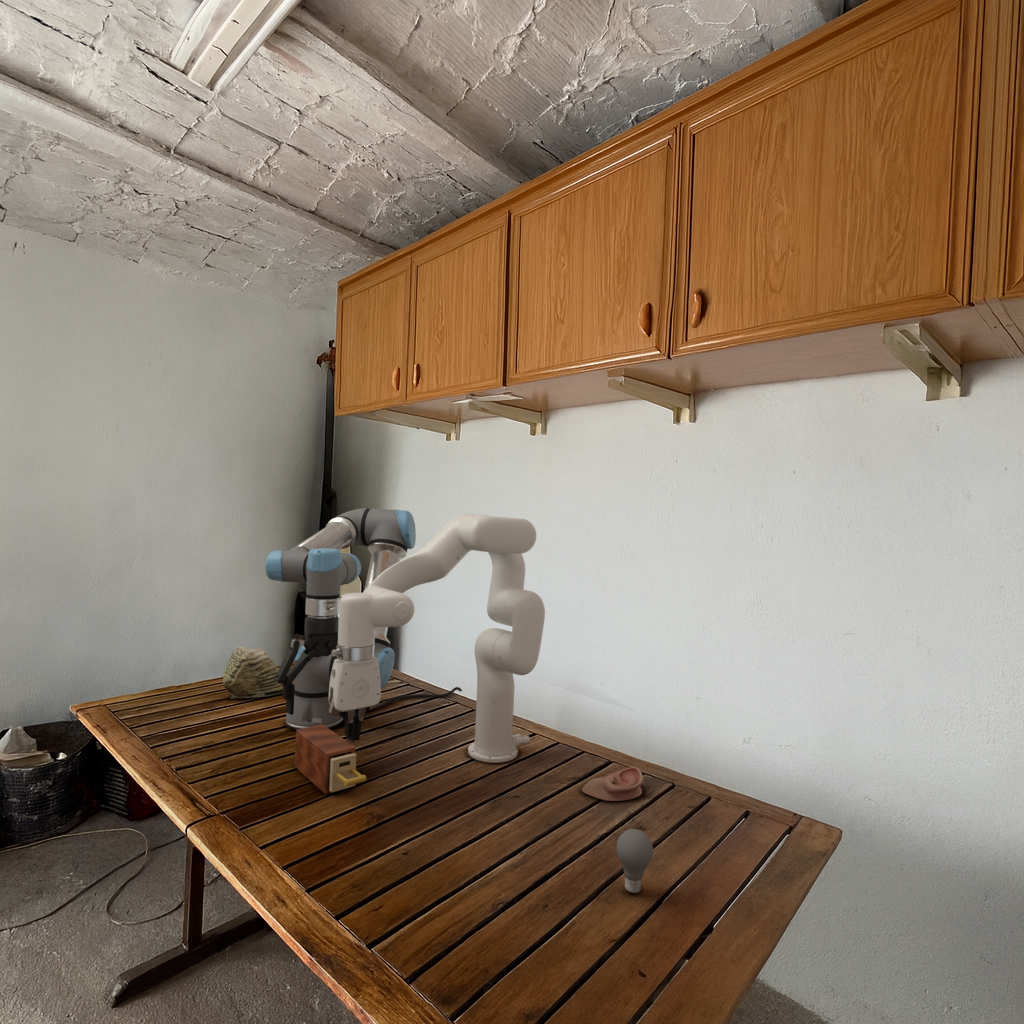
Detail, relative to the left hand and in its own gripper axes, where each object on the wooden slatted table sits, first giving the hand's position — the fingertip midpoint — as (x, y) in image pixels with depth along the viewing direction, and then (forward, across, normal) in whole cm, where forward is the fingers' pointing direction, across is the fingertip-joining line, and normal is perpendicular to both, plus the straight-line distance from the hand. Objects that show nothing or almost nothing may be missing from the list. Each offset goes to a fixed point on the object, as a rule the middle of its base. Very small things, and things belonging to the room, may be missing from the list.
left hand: (318, 707), depth 146 cm
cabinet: (+15, 0, -4) cm, 15 cm away
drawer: (+14, 0, -9) cm, 16 cm away
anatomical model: (+15, +49, -47) cm, 70 cm away
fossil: (+14, +7, +62) cm, 64 cm away
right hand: (+2, 0, -17) cm, 17 cm away
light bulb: (+15, +24, -73) cm, 78 cm away
